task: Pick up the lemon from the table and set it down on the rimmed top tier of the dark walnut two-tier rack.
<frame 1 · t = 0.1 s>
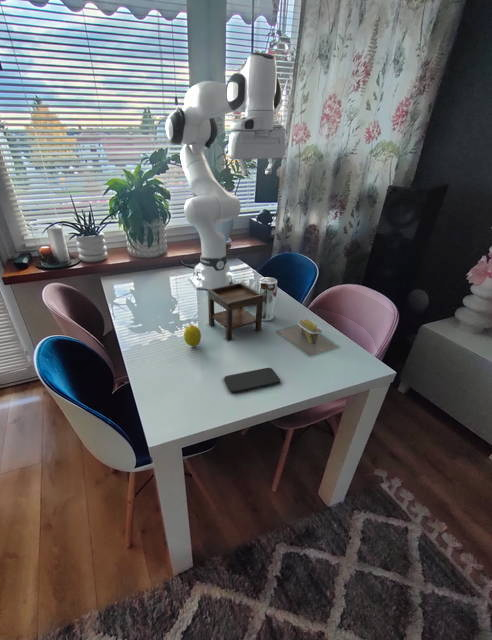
hand: (256, 175, 108), 48 cm above the table, tool pointing down, fingers open, 8 cm apart
lemon: (193, 346, 109), on the table
beer glass: (265, 317, 127), on the table
phone: (251, 381, 93), on the table
shaker set: (245, 305, 137), on the table
rack: (234, 327, 120), on the table
platform: (306, 339, 113), on the table
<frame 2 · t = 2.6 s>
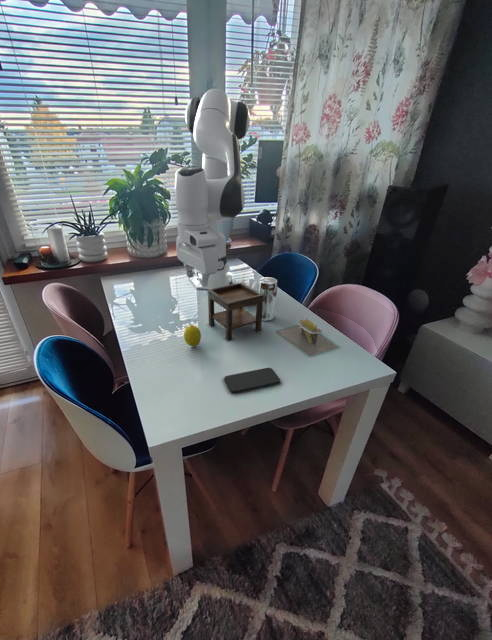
hand: (196, 281, 99), 22 cm above the table, tool pointing down, fingers open, 8 cm apart
nothing on the table moved.
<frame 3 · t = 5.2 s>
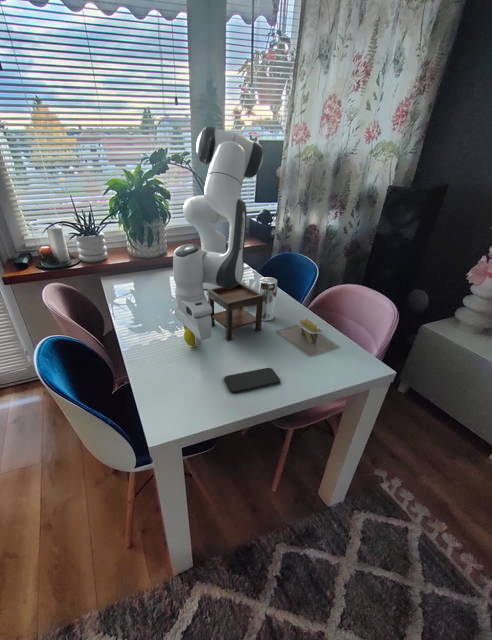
hand: (192, 339, 108), 3 cm above the table, tool pointing down, fingers closed on lemon, 5 cm apart
lemon: (193, 346, 109), on the table, touching gripper
everything else where it was.
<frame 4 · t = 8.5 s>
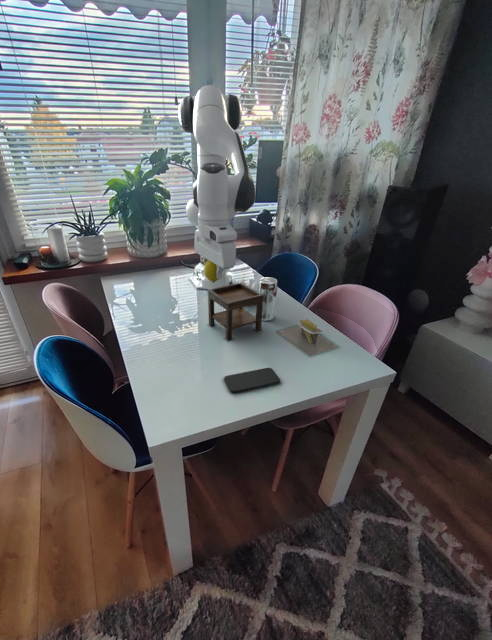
hand: (213, 274, 103), 22 cm above the table, tool pointing down, fingers closed on lemon, 5 cm apart
lemon: (213, 283, 104), point 19 cm above the table, touching gripper
everything else where it was.
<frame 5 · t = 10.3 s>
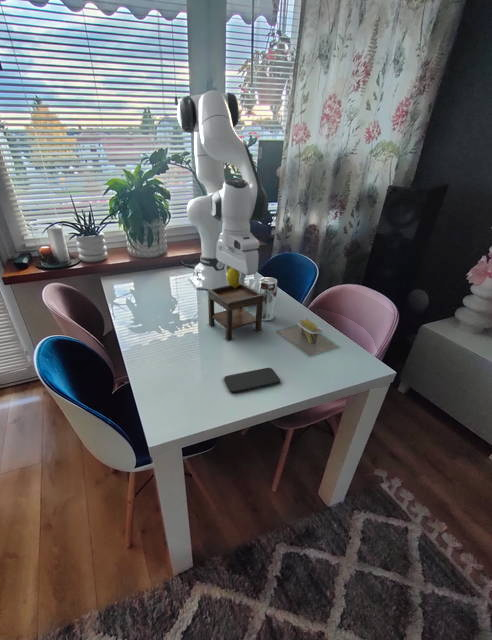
hand: (235, 280, 110), 18 cm above the table, tool pointing down, fingers closed on lemon, 5 cm apart
lemon: (235, 288, 111), point 15 cm above the table, touching gripper
everything else where it was.
when the fingers open (15 cm above the table, at t = 11.7 s): lemon stays where it is, resting on rack.
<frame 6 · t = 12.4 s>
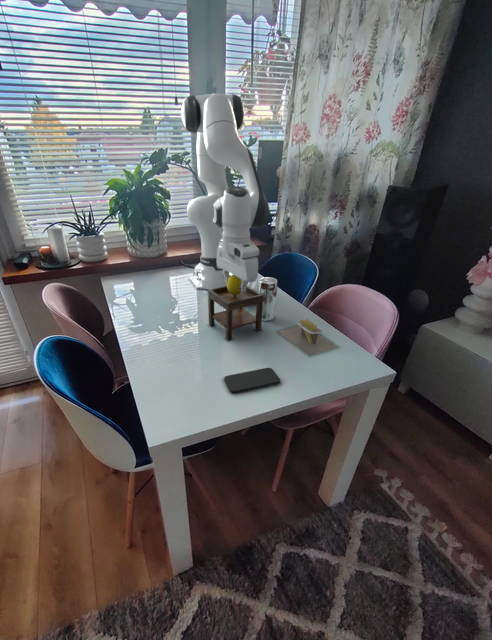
hand: (235, 286, 111), 16 cm above the table, tool pointing down, fingers open, 8 cm apart
lemon: (234, 296, 113), point 12 cm above the table, touching rack
everything else where it was.
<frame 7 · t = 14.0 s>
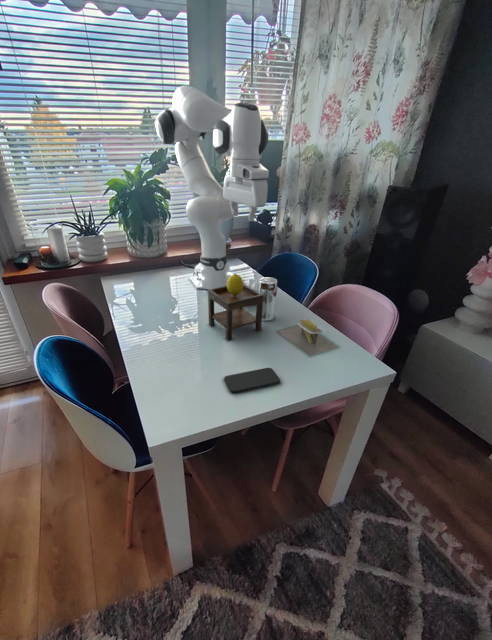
hand: (242, 218, 107), 36 cm above the table, tool pointing down, fingers open, 8 cm apart
nothing on the table moved.
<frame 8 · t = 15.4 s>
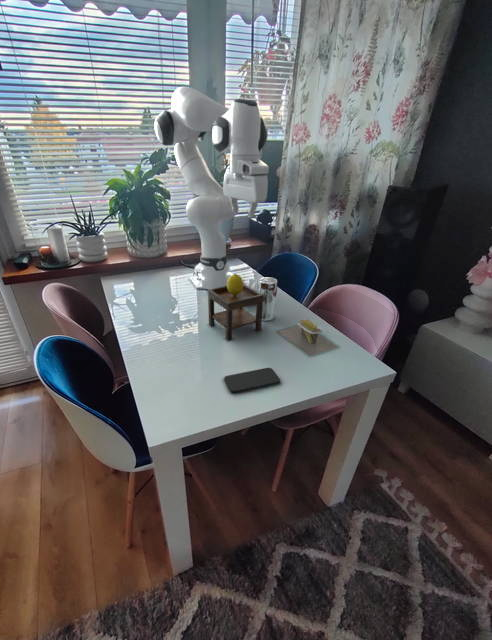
hand: (242, 214, 107), 37 cm above the table, tool pointing down, fingers open, 8 cm apart
nothing on the table moved.
at the end: lemon inside the target area on the rack (0.1 cm from its centre), point 12.2 cm above the rack's base; the gripper is holding nothing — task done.
